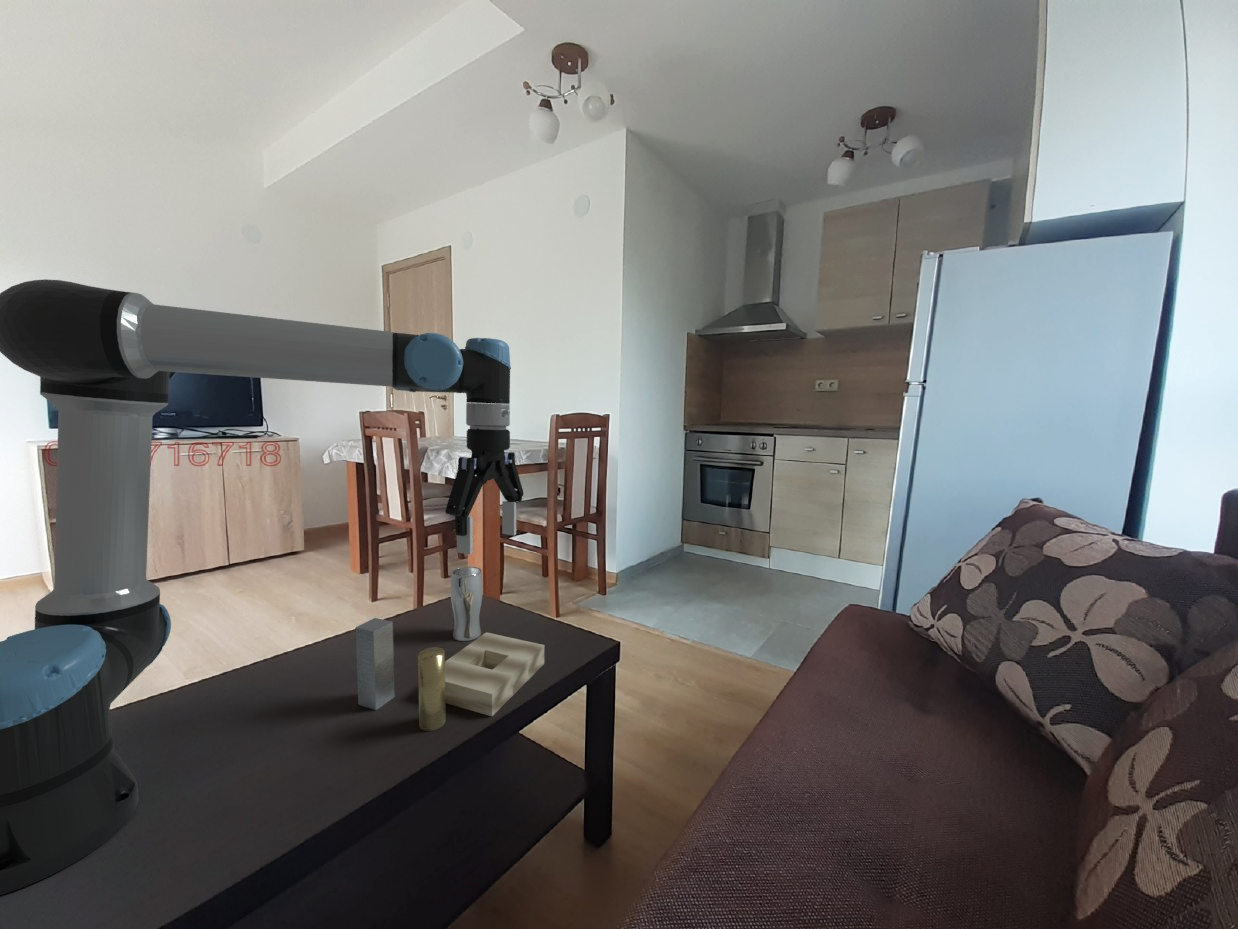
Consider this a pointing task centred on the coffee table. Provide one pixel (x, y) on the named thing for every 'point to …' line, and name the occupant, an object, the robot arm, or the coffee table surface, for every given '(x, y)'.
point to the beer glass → (466, 602)
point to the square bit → (375, 663)
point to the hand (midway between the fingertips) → (488, 543)
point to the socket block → (490, 672)
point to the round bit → (431, 688)
